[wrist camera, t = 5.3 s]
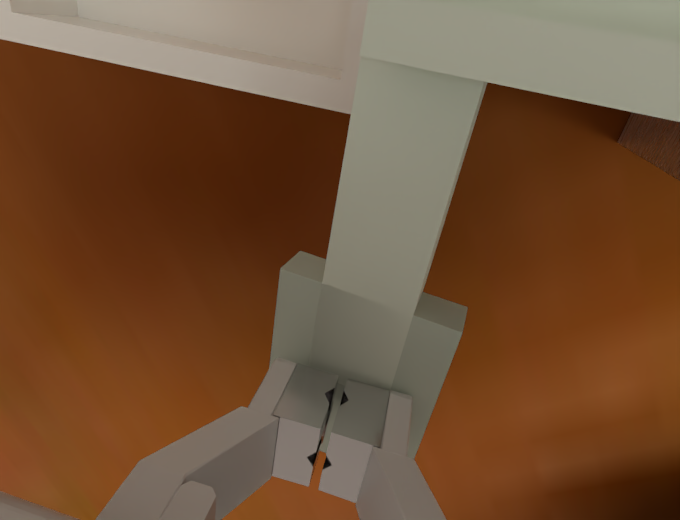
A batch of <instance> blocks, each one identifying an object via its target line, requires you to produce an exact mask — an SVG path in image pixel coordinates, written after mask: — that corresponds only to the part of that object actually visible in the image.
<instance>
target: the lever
mask: <svg viewBox="0 0 680 520" xmlns="http://www.w3.org/2000/svg"><path fill="white" fill-rule="evenodd" d="M359 56H361V58H360V64H359V70H358V76H357V81H356V87H355V93H354V99H353V105H352V111H351V117H350V123H349V129H348V134H347V140H346V146H345V152H344V158H343V164H342V170H341V176H340V182H339V187H338V193H337V199H336V205H335V211H334V217H333V223H332V229H331V235H330V240H329V246H328V252H327V258H326V259H324V258H321V257H318V256H315V255H312V254H309V253H306V252H303V251H299V252H298V253H297V254H296V255H295V256H294V257H293V258H291V259H290V260H289V261H288V262H287V263H286V264H285V265H284V266H282V267H281V268H280V276H279V285H278V294H277V303H276V312H275V321H274V330H273V339H272V348H271V357H270V366H269V368H270V367H271V365H272V363H273V361H274V360H275V359H276V358H277V357H279V358H282V359H285V360H288V361H291V362H294V363H297V364H298V363H299V364H302V365H306V366H309V367H312V368H315V369H318V370H321V371H325V372H328V373H331V374H334V375H337V376H339V379H338V384H337V389H336V392H335V396H334V399H333V402H334V403H333V407H332V412H331V416H330V420H329V423H328V427H327V430H326V434H325V437H324V440H323V443H322V444H321V446H320V451H322V452H325V453H326V452H327V448H328V444H329V440H330V435H331V431H332V428H333V425H334V421H335V418H336V414H337V411H338V408H339V406H340V403H341V399H342V395H343V391H344V388H345V385H346V381H347V379H352V380H356V381H359V382H363V383H366V384H370V385H374V386H377V387H381V388H384V389H388V390H389V391H390V390H392V391H396V392H399V393H403V394H407V395H410V396H412V399H413V403H412V413H411V424H410V434H409V444H408V455H407V457H409V458H412V459H414V458H415V455H416V453H417V450H418V448H419V445H420V442H421V440H422V437H423V435H424V432H425V429H426V427H427V424H428V422H429V419H430V416H431V414H432V411H433V409H434V406H435V403H436V401H437V398H438V396H439V393H440V390H441V388H442V385H443V383H444V380H445V377H446V375H447V372H448V369H449V367H450V364H451V362H452V359H453V356H454V354H455V351H456V349H457V346H458V343H459V341H460V338H461V336H462V333H463V329H464V324H465V319H466V314H467V310H468V307H466V306H463V305H460V304H457V303H454V302H451V301H448V300H445V299H442V298H439V297H436V296H433V295H430V294H428V293H425V292H423V290H424V287H425V283H426V280H427V277H428V274H429V270H430V267H431V264H432V261H433V257H434V254H435V251H436V248H437V244H438V241H439V238H440V235H441V232H442V228H443V225H444V222H445V219H446V215H447V212H448V209H449V206H450V202H451V199H452V196H453V193H454V189H455V186H456V183H457V180H458V176H459V173H460V170H461V167H462V164H463V160H464V157H465V154H466V151H467V147H468V144H469V141H470V138H471V134H472V131H473V128H474V125H475V121H476V118H477V115H478V112H479V108H480V105H481V102H482V99H483V96H484V92H485V89H486V86H487V83H488V82H489V83H493V84H498V85H503V86H508V87H513V88H518V89H522V90H527V91H532V92H537V93H542V94H547V95H551V96H556V97H561V98H566V99H571V100H576V101H580V102H585V103H590V104H595V105H600V106H605V107H609V108H614V109H619V110H624V111H629V112H634V113H638V114H643V115H648V116H653V117H658V118H663V119H667V120H672V121H677V122H680V0H369V1H368V7H367V13H366V18H365V24H364V30H363V36H362V42H361V48H360V54H359Z"/></svg>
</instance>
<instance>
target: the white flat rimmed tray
mask: <svg viewBox="0 0 680 520" xmlns="http://www.w3.org/2000/svg"><path fill="white" fill-rule="evenodd" d="M368 1H369V0H0V39H3V40H8V41H12V42H17V43H22V44H26V45H31V46H35V47H40V48H45V49H49V50H54V51H59V52H63V53H68V54H73V55H77V56H82V57H87V58H91V59H96V60H101V61H105V62H110V63H114V64H119V65H124V66H128V67H133V68H138V69H142V70H147V71H152V72H156V73H161V74H166V75H170V76H175V77H179V78H184V79H189V80H193V81H198V82H203V83H207V84H212V85H217V86H221V87H226V88H231V89H235V90H240V91H244V92H249V93H254V94H258V95H263V96H268V97H272V98H277V99H282V100H286V101H291V102H296V103H300V104H305V105H309V106H314V107H319V108H323V109H328V110H333V111H337V112H342V113H347V114H351V111H352V105H353V99H354V93H355V87H356V81H357V76H358V70H359V64H360V58H361V56H359V54H360V48H361V42H362V36H363V30H364V24H365V18H366V13H367V7H368Z"/></svg>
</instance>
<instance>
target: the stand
mask: <svg viewBox="0 0 680 520" xmlns="http://www.w3.org/2000/svg"><path fill="white" fill-rule="evenodd" d="M617 143H619V144H620V145H622V146H624V147H625V148H627V149H629V150H630V151H632V152H633V153H635V154H637V155H638V156H640V157H642V158H643V159H645V160H647V161H648V162H650V163H651V164H653V165H655V166H656V167H658V168H660V169H661V170H663V171H665V172H666V173H668V174H669V175H671V176H673V177H674V178H676V179H678V180H679V181H680V122H677V121H672V120H667V119H663V118H658V117H653V116H648V115H643V114H638V113H634V112H632V113H631V115H630V117H629V119H628V121H627V123H626V125H625V127H624V129H623V132H622V134H621V136H620V138H619V140H618V142H617Z"/></svg>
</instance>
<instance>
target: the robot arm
mask: <svg viewBox="0 0 680 520" xmlns="http://www.w3.org/2000/svg"><path fill="white" fill-rule="evenodd" d="M338 379H339V376H337V375H334V374H331V373H328V372H325V371H321V370H318V369H315V368H312V367H309V366H306V365H302V364H299V363H298V364H297V363H294V362H291V361H288V360H285V359H282V358H279V357H277V358H276V359H275V360H274V361H273V363H272V365H271V367H270V368H269V370H268V372H267V374H266V376H265V377H264V379H263V381H262V383H261V385H260V386H259V388H258V390H257V392H256V394H255V395H254V397H253V399H252V401H251V403H250V404H249V406H248V408H246V407H242V406H241V407H239V408H237V409H235V410H233V411H231V412H230V413H228V414H226V415H224V416H222V417H220V418H218V419H217V420H215V421H213V422H211V423H209V424H207V425H205V426H203V427H202V428H200V429H198V430H196V431H194V432H192V433H190V434H188V435H187V436H185V437H183V438H181V439H179V440H177V441H175V442H174V443H172V444H170V445H168V446H166V447H164V448H162V449H160V450H159V451H157V452H155V453H153V454H151V455H149V456H147V457H145V458H144V459H142V460H140V461H139V462H138V463H137V465H136V466H135V467H134V469H133V470H132V472H131V473H130V474H129V476H128V477H127V478H126V480H125V481H124V482H123V484H122V485H121V486H120V488H119V489H118V490H117V492H116V493H115V494H114V496H113V497H112V498H111V500H110V501H109V502H108V504H107V505H106V506H105V508H104V509H103V510H102V512H101V513H100V514H99V516H98V517H97V518H96V520H221V519H222V518H224V517H225V516H226V515H227V514H228V513H230V512H231V511H232V510H233V509H234V508H236V507H237V506H238V505H239V504H240V503H242V502H243V501H244V500H245V499H246V498H248V497H249V496H250V495H251V494H252V493H254V492H255V491H256V490H257V489H258V488H260V487H261V486H262V485H263V484H264V483H266V482H267V481H268V480H269V479H270V478H271V476H274V477H277V478H281V479H284V480H288V481H291V482H295V483H298V484H301V485H305V486H308V487H309V484H310V481H311V478H312V475H313V472H314V469H315V466H316V463H317V459H318V455H319V450H320V446H321V444H322V443H323V440H324V437H325V434H326V430H327V427H328V423H329V420H330V416H331V412H332V407H333V403H334V402H333V399H334V396H335V392H336V389H337V384H338ZM412 403H413V399H412V396H410V395H407V394H403V393H399V392H396V391H392V390H390V391H389V390H388V389H384V388H381V387H377V386H374V385H370V384H366V383H363V382H359V381H356V380H352V379H347V381H346V385H345V388H344V391H343V395H342V399H341V403H340V406H339V408H338V411H337V414H336V418H335V421H334V425H333V428H332V431H331V435H330V440H329V444H328V448H327V452H326V460H325V463H324V467H323V470H322V475H321V480H320V484H319V489H318V490H320V491H323V492H326V493H329V494H332V495H335V496H337V497H340V498H343V499H346V500H349V501H351V502H354V503H356V508H357V512H358V515H359V518H360V520H446V518H445V516H444V514H443V512H442V510H441V508H440V507H439V505H438V503H437V501H436V499H435V497H434V495H433V493H432V492H431V490H430V488H429V486H428V484H427V482H426V480H425V479H424V477H423V475H422V473H421V471H420V469H419V467H418V465H417V464H416V462H415V460H414V459H412V458H409V457H407V455H408V444H409V434H410V424H411V413H412ZM0 520H80V519H77V518H74V517H71V516H69V515H66V514H63V513H60V512H57V511H55V510H52V509H49V508H46V507H43V506H41V505H38V504H35V503H32V502H29V501H27V500H24V499H21V498H18V497H15V496H13V495H10V494H7V493H4V492H1V491H0Z"/></svg>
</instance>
